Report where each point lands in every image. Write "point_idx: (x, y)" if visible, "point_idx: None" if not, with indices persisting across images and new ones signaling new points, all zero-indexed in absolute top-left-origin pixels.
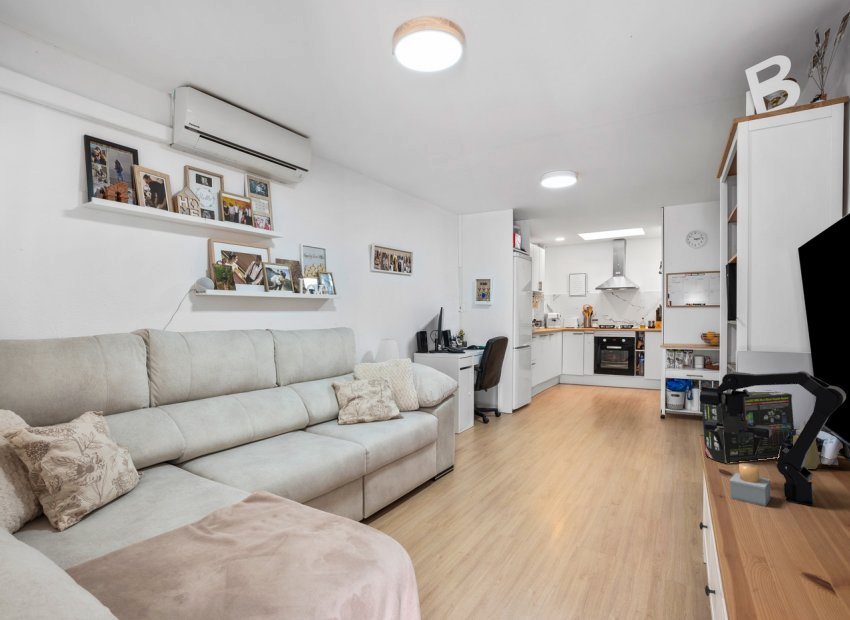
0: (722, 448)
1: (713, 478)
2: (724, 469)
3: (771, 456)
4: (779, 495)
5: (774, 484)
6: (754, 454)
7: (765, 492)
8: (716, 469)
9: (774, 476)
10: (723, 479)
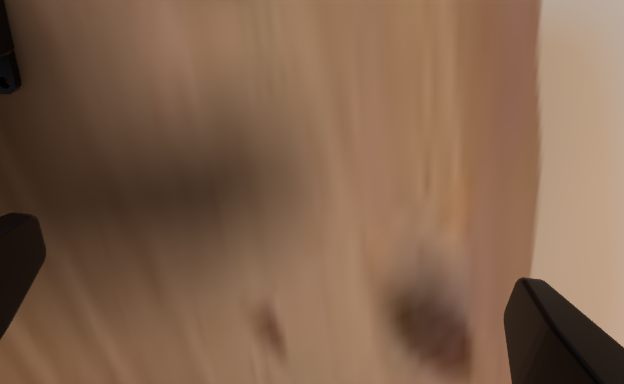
0: (535, 296)
1: (519, 174)
2: (436, 380)
3: None
4: (63, 43)
5: (150, 256)
6: (4, 217)
7: None
8: (485, 362)
9: (183, 380)
10: (445, 190)
